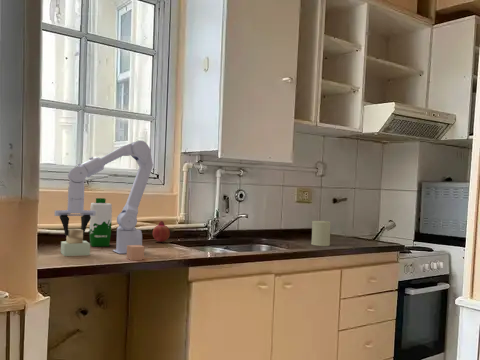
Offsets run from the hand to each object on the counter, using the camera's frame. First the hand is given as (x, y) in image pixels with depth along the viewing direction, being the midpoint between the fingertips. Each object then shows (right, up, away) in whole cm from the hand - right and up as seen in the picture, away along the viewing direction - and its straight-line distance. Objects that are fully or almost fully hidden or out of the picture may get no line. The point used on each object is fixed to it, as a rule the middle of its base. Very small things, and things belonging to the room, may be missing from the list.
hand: (74, 235), depth 173 cm
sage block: (0, -7, 0) cm, 7 cm away
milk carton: (+2, -7, +23) cm, 24 cm away
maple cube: (0, -3, 0) cm, 3 cm away
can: (+102, -12, +56) cm, 117 cm away
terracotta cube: (+24, -8, -7) cm, 26 cm away
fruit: (+25, -9, +41) cm, 49 cm away
